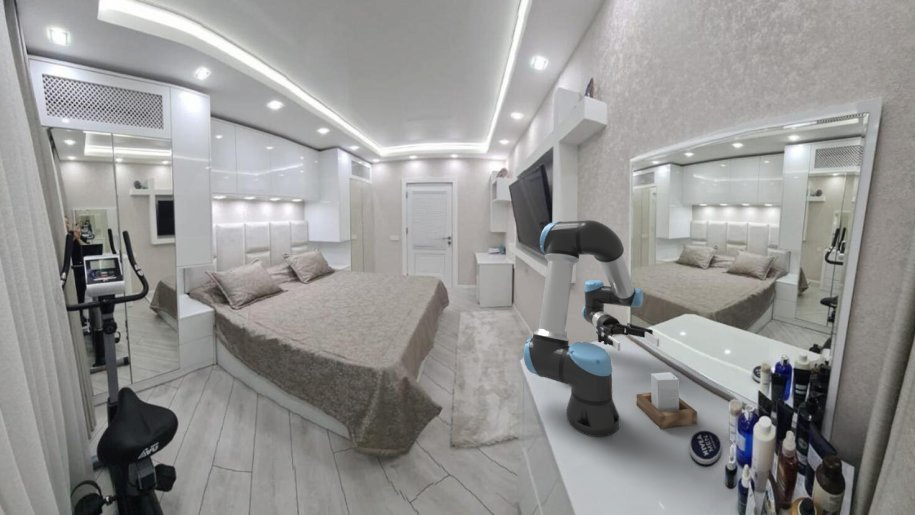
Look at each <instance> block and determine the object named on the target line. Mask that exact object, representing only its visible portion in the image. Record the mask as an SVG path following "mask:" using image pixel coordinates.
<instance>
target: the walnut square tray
mask: <svg viewBox="0 0 915 515" xmlns="http://www.w3.org/2000/svg"><path fill="white" fill-rule="evenodd" d="M636 406H637V408H639V409H640V410H641V411H642V413H644V414H645V415H646V417H648V418H649V419H650V420H651V421H652V422H653V423H654V424H655V425H656V426H657V427H658V428H659V429H660V430H663V429H670V428H676V427H677V428H678V427H685V426H693V425H697V424H698V411H697V410H696V409H695V408H693V407H692V406H690V404H688V403H687V402H686V401H684V400H683V399H682V398H681V397H679V410H677V411H669V412H661V411H659V410H658V409H657V408H656V407H655V406H654V405H653V404H652V401H651V391H649V392H644V393H637V394H636Z"/></svg>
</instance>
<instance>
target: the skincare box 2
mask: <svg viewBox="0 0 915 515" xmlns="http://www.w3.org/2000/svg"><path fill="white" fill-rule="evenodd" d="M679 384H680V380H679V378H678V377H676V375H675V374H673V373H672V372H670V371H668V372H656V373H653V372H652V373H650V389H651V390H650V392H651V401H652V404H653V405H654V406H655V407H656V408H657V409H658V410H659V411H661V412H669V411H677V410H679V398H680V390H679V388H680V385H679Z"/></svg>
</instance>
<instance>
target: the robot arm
mask: <svg viewBox="0 0 915 515" xmlns="http://www.w3.org/2000/svg"><path fill="white" fill-rule="evenodd" d="M539 245H540V251H541V252H542V253H543V254H544V258H545V260H546V261H547V268H546V275H545V280H544V281H545V282H544V288H543V296H542V304H541V310H540V317H539V323H538V324H539V326H538V329H537V330H535V331H534V332H533V333H532V337H530V338H528V339H527V340H526V343H525V344H524V349H523V361H524V366H525V367H526V369H527V370H528V371H529V372H530V373H531V374H534V375H535V376H537V377H540V378H546V379H548V380H552V381H555V382H559V383H562V384H565V385H569V386H570V391H571V394H570V397H569V400H568V401H567V406H566V419H567V422H568V423H569V425H570V426H572V428H574V429H575V430H577V431H578V432H580V433H583V434H584V435H588V436H593V437H607V436H611V435H613V434H615V433H616V432H617V431H619V428H620V424H621V422H620V414H619V412H618V410H617V407H616V404H615V401H614V400H613V377H612V376H613V374H612V373H613V367H612V359H611V356H610V354H609V353H608V352H607V351H606V350H605V349H604V348H603V347H601V346H599V345H597V344H595V343H592V342H591V343H590V342H587V341H586V342H585V341H583V342H580V341H577V342H573V343H571V344H570V345H569V342H570V340H569V338H568V336H567V337H566V335H565V330H566V329H567V328H566V327H567V321H568V320H567V319H568V311H569V304H570V296H571V295H570V294H571V288H572V279H573V270H574V265H575V264H577V263H578V262H579V261H580V255H590V256H593V257H594V258H595V259H596V260H597V261H598V262H599V263H600V265H601V267H602V269H603V272H604V275H605V276H606V279H607V280H608V283H609V285H610V286H608V285H605V284H604V282H603V281H602V280H599V279H589V280H586V281H585V283H584V302H585V303H584V306H583V307H582V310H581V316H582V318H583V319H584V320H585V321H586V322H588V323H589V324H591V325H592V326H593V327H594V328H595V332H596V334H597V342H598V343H602V342H603V344H604V345H606V346H607V345H609V346H610V347H611V346H612V347H613V348H614V349H615V350H617V351H621V343H620V342H619V341H618V340H617V339H615V338H614V337H613V336H617V335H623V336H628V335H629V336H635V337H639V338H644V340H646V341H647V342H649V343H651V344H652V345H654V346H655V347H660V338H659V337H656V335H653V334H654V332H653V331H654V330H653V329H649V328H646V327H643V326H639V325H635V324H632V323H630V322H627V324H622V323H620V321H619V319H617V318H616V317H614V316H613V315H611V314H609V313H608V312H605V305H611V306H613V305H614V306H621V307H622V306H623V307H629V308H641V307H642V306H643V303H644V291H643V289H641V288H636V287H635V288H634V284H633V281H632V278H631V276H630V273H629V270H628V267H627V265H626V261H625V257H624V256H623V254H624V251H625V250H624V249H625V247H624V245H623V242H622V240H621V238H620V237H619V236H618V235H617V234H616V232H615V231H614V230H613V229H612V228H610V227H608V226H607V225H606V224H604V223H603V222H599V221H596V220H591V219H589V220H588V219H587V220H586V219H585V220H573V221H572V220H570V221H568V220H567V221H555V222H549V223H548V224H547V225H545V226H544V228H543V229H542V231H541V234H540V238H539ZM602 333H603V335H602Z"/></svg>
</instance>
